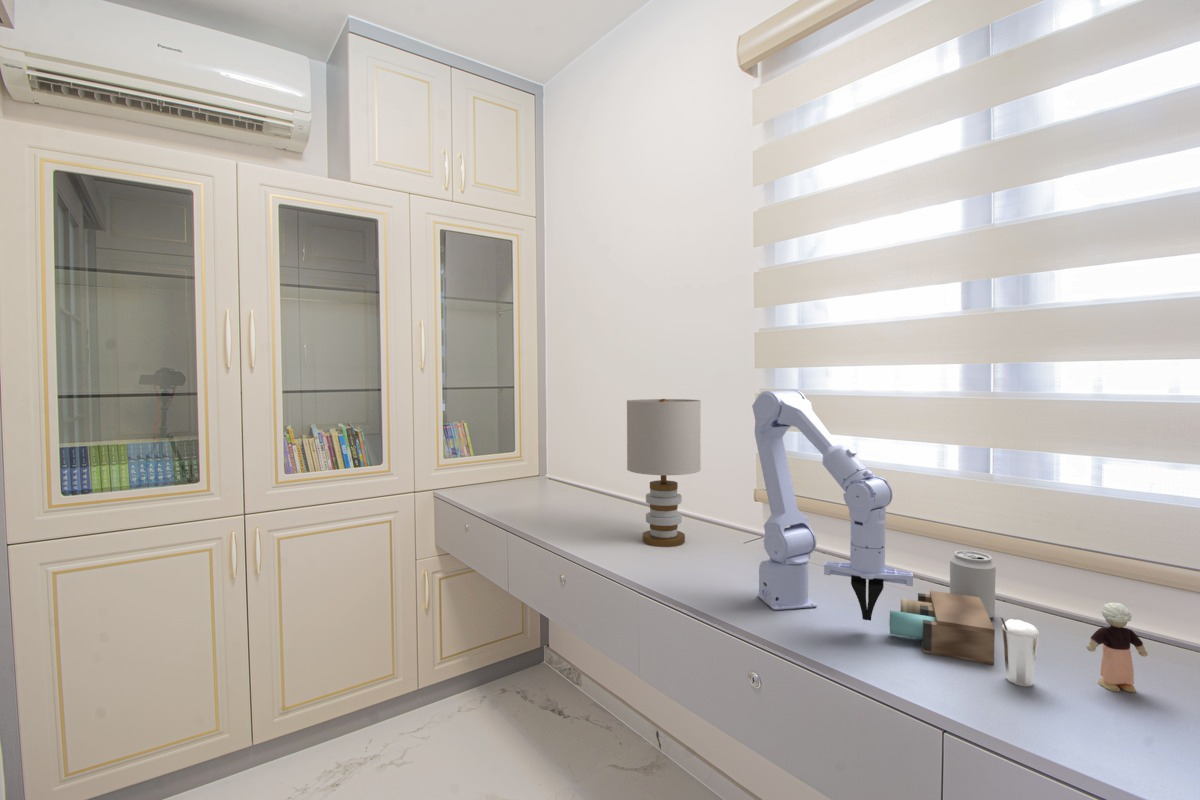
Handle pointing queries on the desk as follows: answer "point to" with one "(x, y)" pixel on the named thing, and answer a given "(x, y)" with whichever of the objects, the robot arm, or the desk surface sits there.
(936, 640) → the walnut block
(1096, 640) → the grandmother figurine
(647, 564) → the desk surface
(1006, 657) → the milkshake
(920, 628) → the teal peg
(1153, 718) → the desk surface
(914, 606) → the beech peg
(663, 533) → the lamp
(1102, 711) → the desk surface
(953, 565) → the can
